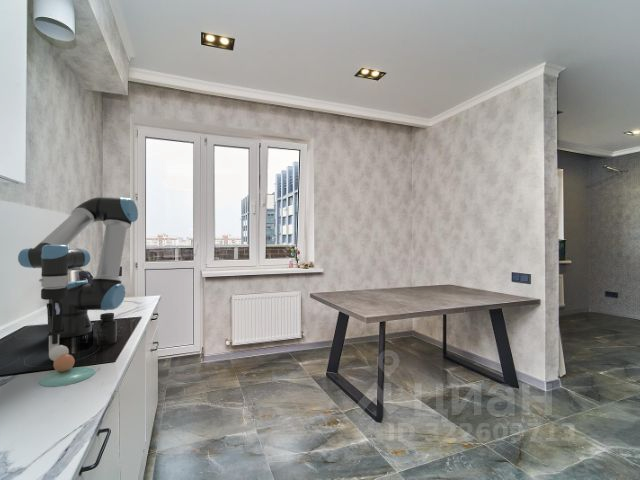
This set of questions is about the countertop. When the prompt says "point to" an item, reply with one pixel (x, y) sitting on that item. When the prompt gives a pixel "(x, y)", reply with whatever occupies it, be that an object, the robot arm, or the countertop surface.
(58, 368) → the object ball
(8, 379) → the countertop surface
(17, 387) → the countertop surface
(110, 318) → the supplement bottle
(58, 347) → the cue ball
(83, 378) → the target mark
